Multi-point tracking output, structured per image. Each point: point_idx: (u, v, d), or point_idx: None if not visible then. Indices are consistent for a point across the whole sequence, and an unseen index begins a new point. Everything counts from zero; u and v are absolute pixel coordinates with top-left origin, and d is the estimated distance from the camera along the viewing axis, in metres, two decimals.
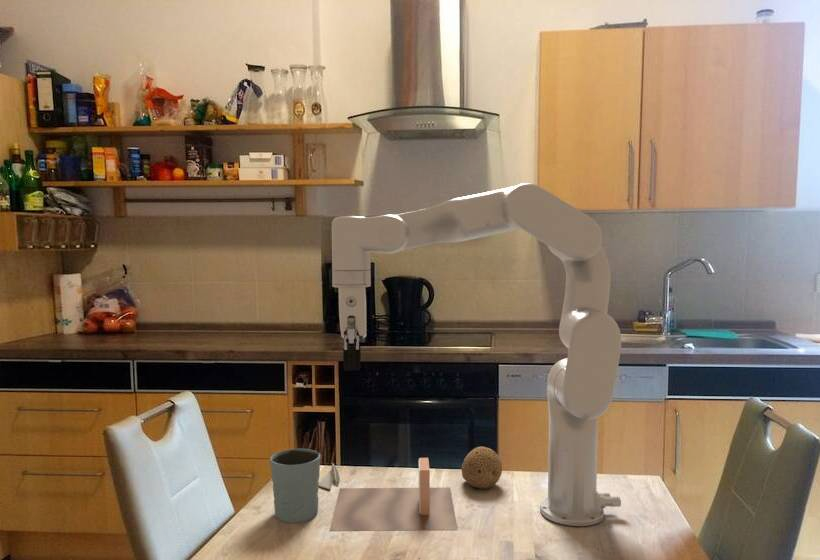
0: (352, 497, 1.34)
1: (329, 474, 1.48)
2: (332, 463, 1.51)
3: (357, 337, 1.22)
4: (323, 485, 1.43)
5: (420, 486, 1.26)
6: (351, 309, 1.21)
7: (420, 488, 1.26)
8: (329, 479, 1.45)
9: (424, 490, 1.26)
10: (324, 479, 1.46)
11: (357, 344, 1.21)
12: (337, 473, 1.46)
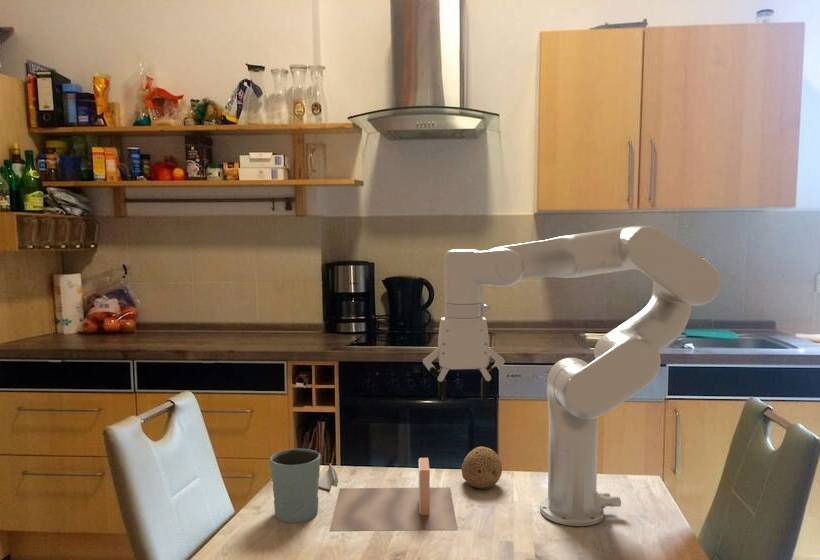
0: (352, 497, 1.34)
1: (327, 474, 1.48)
2: None
3: None
4: (322, 485, 1.43)
5: (420, 486, 1.26)
6: None
7: (420, 488, 1.26)
8: (328, 480, 1.45)
9: (424, 490, 1.26)
10: (322, 479, 1.46)
11: None
12: (335, 473, 1.46)
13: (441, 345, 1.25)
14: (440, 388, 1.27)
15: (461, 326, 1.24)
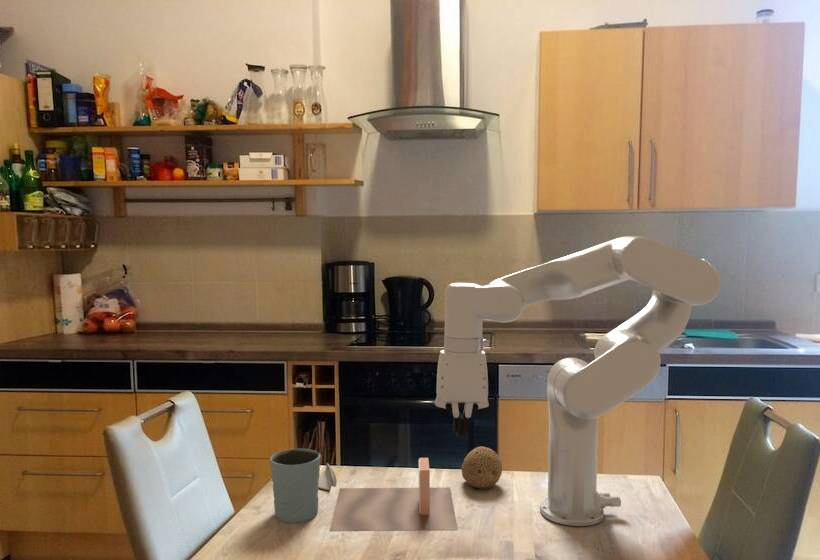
0: (352, 497, 1.34)
1: (325, 474, 1.48)
2: (327, 463, 1.50)
3: None
4: (320, 486, 1.43)
5: (420, 486, 1.26)
6: None
7: (420, 488, 1.26)
8: (326, 480, 1.45)
9: (424, 490, 1.26)
10: (320, 480, 1.46)
11: None
12: (333, 473, 1.46)
13: (440, 378, 1.26)
14: (455, 424, 1.27)
15: (460, 360, 1.25)
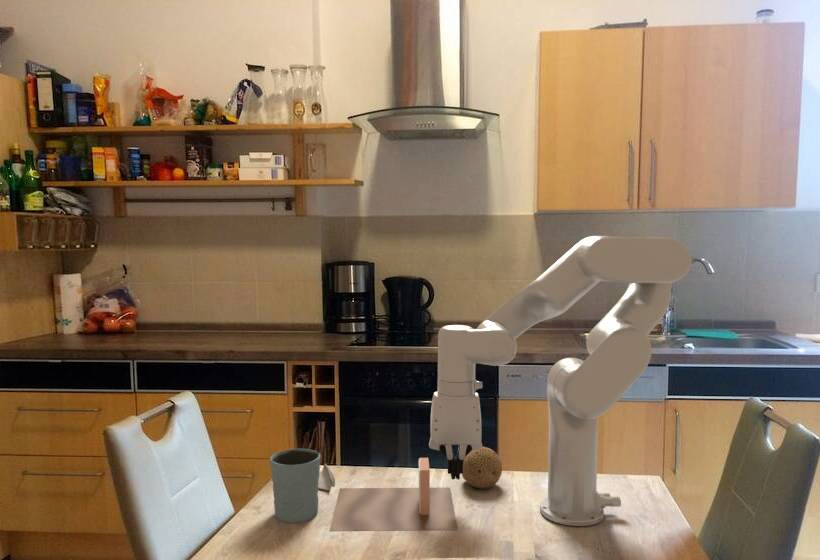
0: (352, 497, 1.34)
1: (322, 475, 1.48)
2: (324, 464, 1.50)
3: None
4: (319, 486, 1.43)
5: (420, 486, 1.26)
6: None
7: (420, 488, 1.26)
8: (324, 480, 1.45)
9: (424, 490, 1.26)
10: (318, 480, 1.45)
11: None
12: (331, 473, 1.45)
13: (433, 421, 1.26)
14: (449, 466, 1.28)
15: (453, 403, 1.25)
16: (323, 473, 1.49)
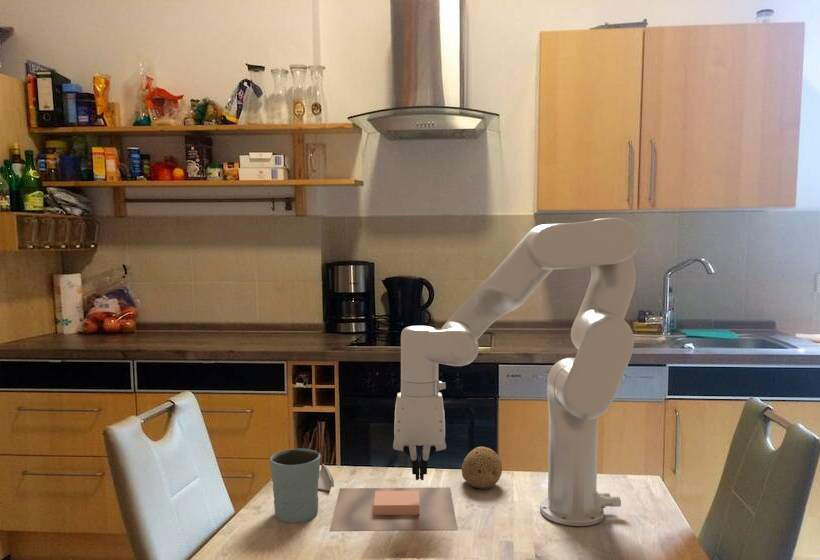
0: (352, 497, 1.34)
1: (320, 475, 1.48)
2: (322, 464, 1.50)
3: None
4: (318, 486, 1.43)
5: (390, 513, 1.26)
6: None
7: (392, 514, 1.26)
8: (323, 480, 1.45)
9: (394, 510, 1.26)
10: None
11: None
12: None
13: (396, 422, 1.26)
14: (413, 467, 1.28)
15: (416, 403, 1.25)
16: (321, 473, 1.49)
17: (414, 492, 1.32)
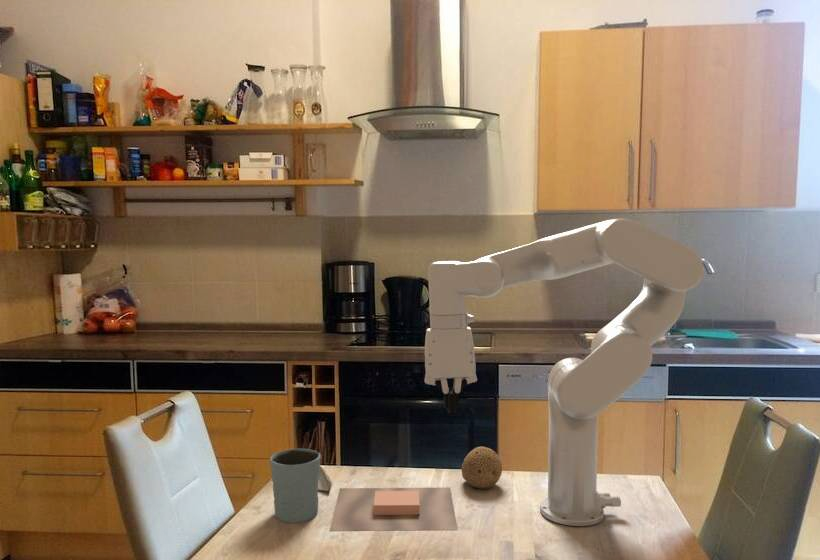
0: (352, 497, 1.34)
1: None
2: None
3: None
4: None
5: (390, 513, 1.26)
6: None
7: (392, 514, 1.26)
8: (319, 481, 1.44)
9: (394, 510, 1.26)
10: None
11: None
12: None
13: (428, 356, 1.28)
14: (446, 400, 1.30)
15: (446, 336, 1.27)
16: None
17: (414, 492, 1.32)
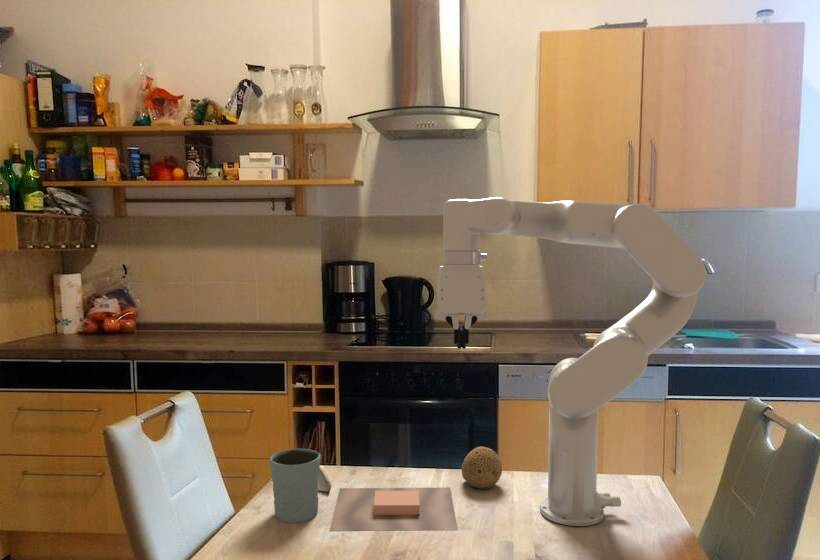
0: (352, 497, 1.34)
1: None
2: None
3: None
4: None
5: (390, 513, 1.26)
6: None
7: (392, 514, 1.26)
8: (318, 481, 1.44)
9: (394, 510, 1.26)
10: None
11: None
12: None
13: (440, 291, 1.30)
14: (455, 336, 1.32)
15: (458, 272, 1.30)
16: None
17: (414, 492, 1.32)
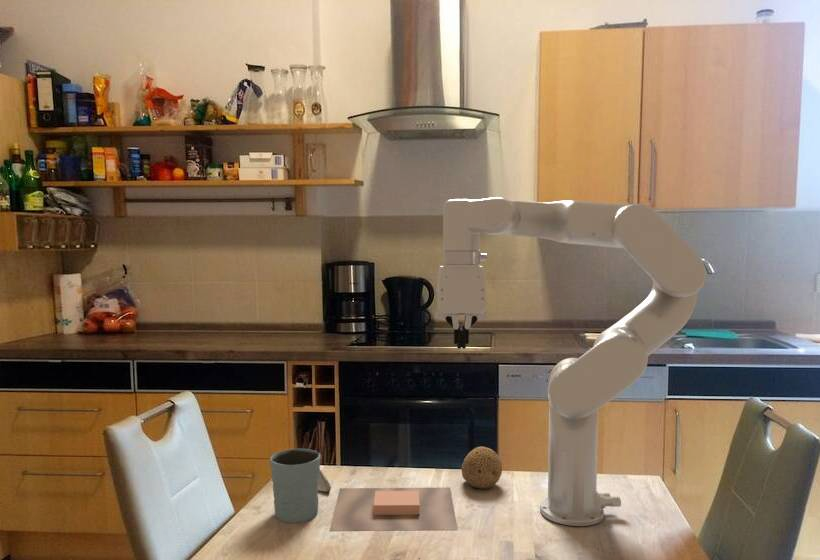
0: (352, 497, 1.34)
1: None
2: None
3: None
4: None
5: (390, 513, 1.26)
6: None
7: (392, 514, 1.26)
8: None
9: (394, 510, 1.26)
10: None
11: None
12: None
13: (440, 291, 1.30)
14: (455, 336, 1.32)
15: (458, 272, 1.30)
16: None
17: (414, 492, 1.32)
